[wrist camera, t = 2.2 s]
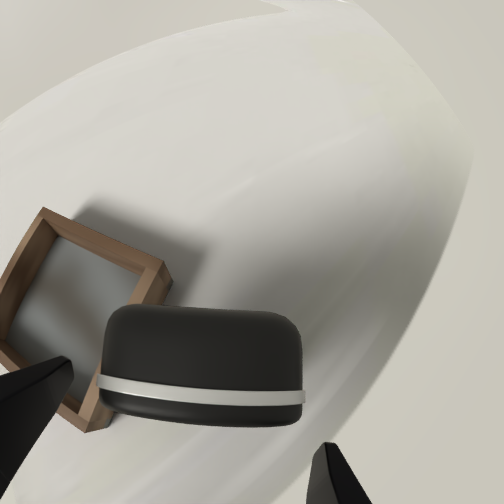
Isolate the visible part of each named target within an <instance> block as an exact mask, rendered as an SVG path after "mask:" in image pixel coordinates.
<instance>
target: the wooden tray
mask: <svg viewBox="0 0 504 504" xmlns="http://www.w3.org/2000/svg"><path fill="white" fill-rule="evenodd" d="M172 283H173V280H172V278H171V276H170V274H169V271H168V269H167V267H166V265H165V263H164V261H163V260H160V259H158V258H155V257H153V256H151V255H148V254H146V253H144V252H141V251H139V250H137V249H134V248H132V247H130V246H128V245H125V244H123V243H121V242H118V241H116V240H114V239H112V238H109V237H107V236H105V235H103V234H100V233H98V232H96V231H94V230H92V229H89V228H87V227H85V226H83V225H81V224H79V223H76V222H74V221H72V220H70V219H68V218H66V217H64V216H62V215H59V214H57V213H55V212H53V211H51V210H49V209H47V208H45V207H43V208H42V209H41V210H40V212H39V213H38V215H37V216H36V218H35V219H34V221H33V223H32V224H31V226H30V227H29V229H28V230H27V232H26V234H25V235H24V237H23V239H22V240H21V242H20V244H19V245H18V247H17V249H16V251H15V252H14V254H13V256H12V258H11V259H10V261H9V263H8V265H7V267H6V269H5V271H4V273H3V275H2V277H1V279H0V363H1V364H2V365H3V366H4V367H5V368H6V369H7V370H8V371H9V372H13V371H16V370H19V369H22V368H25V367H28V366H31V365H34V364H37V363H40V362H43V361H46V360H49V359H52V358H54V357H57V356H61V355H63V356H65V357H67V358H69V359H70V360H71V361H72V365H73V370H74V375H75V376H74V380H73V382H72V384H71V386H70V388H69V390H68V391H67V393H66V395H65V397H64V399H63V401H62V403H61V404H60V406H59V408H58V410H57V411H56V413H58V414H59V415H60V416H62V417H63V418H64V419H66V420H67V421H68V422H70V423H71V424H72V425H74V426H75V427H77V428H78V429H80V430H81V431H83V432H84V433H87V432H91V431H96V430H100V429H104V428H108V425H109V423H110V420H111V418H112V415H113V413H114V411H111V410H109V409H107V408H105V407H103V406H102V405H101V403H100V401H99V387H97V386H96V380H97V374H100V372H101V361H102V351H103V343H104V335H105V330H106V326H107V322H108V320H109V318H110V316H111V315H112V313H113V312H114V311H116V310H117V309H119V308H120V307H122V306H126V305H130V304H152V305H162V304H163V302H164V300H165V298H166V295H167V293H168V291H169V289H170V287H171V285H172Z"/></svg>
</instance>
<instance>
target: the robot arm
mask: <svg viewBox="0 0 504 504" xmlns="http://www.w3.org/2000/svg"><path fill="white" fill-rule="evenodd" d="M74 376H75V375H74V370H73V365H72V361H71V360H70V359H69V358H67V357H65V356H63V355H61V356H57V357H54V358H52V359H49V360H46V361H43V362H40V363H37V364H34V365H31V366H28V367H25V368H22V369H19V370H16V371H13V372H10V373H7V374H3V375H0V499H1V498H2V496H3V494H4V492H5V491H6V489H7V487H8V485H9V484H10V481H11V480H12V479H13V477H14V475H15V474H16V472H17V470H18V469H19V467H20V466H21V464H22V462H23V461H24V459H25V458H26V456H27V455H28V453H29V452H30V450H31V448H32V447H33V445H34V444H35V442H36V441H37V439H38V438H39V436H40V435H41V433H42V432H43V430H44V429H45V427H46V426H47V425H48V423H49V422H50V420H51V419H52V417H53V416H54V414H55V413H56V411H57V410H58V408H59V406H60V404H61V403H62V401H63V399H64V397H65V395H66V393H67V391H68V390H69V388H70V386H71V384H72V382H73V380H74ZM306 504H372V503H371V501H370V500H369V498H368V496H367V495H366V493H365V491H364V490H363V488H362V486H361V485H360V483H359V482H358V480H357V478H356V476H355V475H354V473H353V471H352V470H351V468H350V466H349V465H348V463H347V461H346V459H345V458H344V456H343V454H342V453H341V451H340V449H339V448H338V446H337V445H336V444H335V443H331V442H324V443H322V445H321V446H320V447H319V449H318V450H317V451H316V452H315V454H314V456H313V460H312V466H311V473H310V479H309V485H308V490H307V499H306Z"/></svg>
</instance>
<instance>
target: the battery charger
mask: <svg viewBox="0 0 504 504" xmlns="http://www.w3.org/2000/svg"><path fill="white" fill-rule="evenodd" d="M96 386H97V387H99V401H100V403H101V405H102V406H103V407H105V408H107V409H109V410H111V411H115V412H118V413H122V414H127V415H131V416H136V417H142V418H148V419H154V420H161V421H168V422H175V423H184V424H194V425H206V426H222V427H277V426H286V425H291V424H293V423H295V422H296V421H298V420H299V419H300V417H301V415H302V403H305V390H302V343H301V336H300V334H299V332H298V330H297V328H296V326H295V325H294V324H293V323H292V322H291V321H289V320H288V319H287V318H286V317H284V316H281V315H278V314H275V313H272V312H262V311H242V310H224V309H208V308H192V307H177V306H164V305H152V304H130V305H126V306H122V307H120V308H119V309H117V310H116V311H114V312H113V313H112V315H111V316H110V318H109V320H108V322H107V326H106V330H105V335H104V343H103V351H102V361H101V372H100V374H97V380H96Z"/></svg>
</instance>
